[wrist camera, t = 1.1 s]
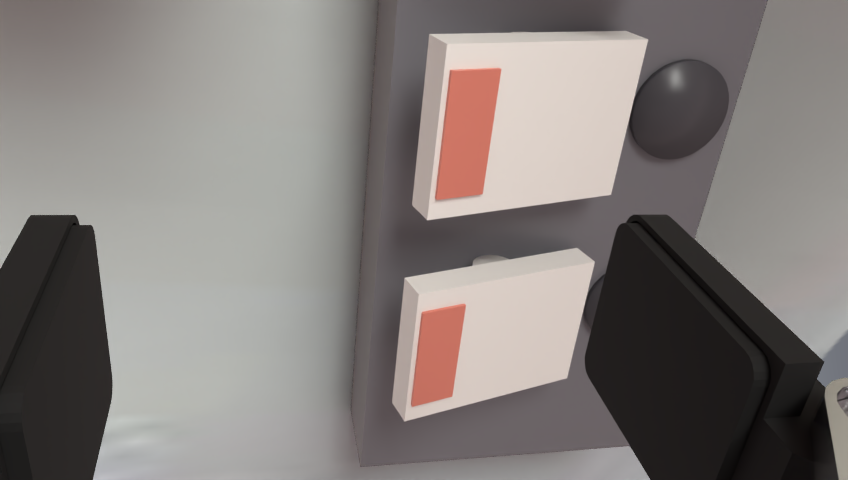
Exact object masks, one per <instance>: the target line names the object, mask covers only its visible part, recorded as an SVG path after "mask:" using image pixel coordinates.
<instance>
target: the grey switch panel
mask: <svg viewBox="0 0 848 480" xmlns="http://www.w3.org/2000/svg"><path fill="white" fill-rule="evenodd" d="M767 1H768V0H379V2H378V17H377V31H376V46H375V61H374V75H373V90H372V105H371V120H370V134H369V149H368V164H367V178H366V193H365V208H364V223H363V237H362V252H361V267H360V281H359V296H358V311H357V326H356V340H355V355H354V370H353V384H352V399H351V414H352V420H353V426H354V432H355V437H356V443H357V449H358V455H359V461H360V467H365V466H378V465H391V464H403V463H416V462H429V461H442V460H455V459H468V458H481V457H494V456H507V455H519V454H532V453H545V452H558V451H571V450H584V449H597V448H610V447H622V446H630V445H629V443H628V442H627V440H626V438H625V437H624V435H623V433H622V432H621V430H620V429H619V427H618V425H617V424H616V422H615V420H614V419H613V417H612V415H611V414H610V412H609V410H608V409H607V407H606V406H605V404H604V402H603V401H602V399H601V397H600V396H599V394H598V392H597V391H596V389H595V387H594V386H593V384H592V382H591V381H590V379H589V377H588V375H587V373H586V369H585V353H586V349H587V345H588V341H589V337H590V333H591V329H592V325H593V321H594V317H595V313H596V309H597V305H598V301H599V297H600V293H601V289H602V285H603V281H604V277H605V273H606V269H607V265H608V261H609V257H610V253H611V249H612V245H613V241H614V237H615V233H616V230H617V228H618V226H619V225H620V224H622V223H626V221H627V220H628V218H629V217H630V216H632V215H668V216H670V217H671V218H672V219H673V220H674V221H675V222H677V223H678V224H679V225H680V226H681V227H682V228H683V229H684V230H685V231H686V232H687V233H688V234H689V235H690V236H691V237H692V238H693V239H695V235H696V232H697V229H698V226H699V222H700V219H701V216H702V213H703V209H704V206H705V203H706V200H707V196H708V193H709V190H710V187H711V183H712V180H713V177H714V174H715V170H716V167H717V164H718V161H719V157H720V154H721V151H722V148H723V144H724V141H725V138H726V135H727V131H728V128H729V125H730V122H731V118H732V115H733V112H734V109H735V105H736V102H737V99H738V96H739V92H740V89H741V86H742V83H743V79H744V76H745V73H746V70H747V66H748V63H749V60H750V57H751V53H752V50H753V47H754V44H755V40H756V37H757V34H758V31H759V27H760V24H761V21H762V18H763V14H764V11H765V8H766V5H767ZM583 31H628V32H630V33H633V34H636V35H638V36H641V37H643V38H646V39H648V43H647V47H646V51H645V55H644V59H643V63H642V68H641V72H640V76H639V80H638V84H637V88H636V93H635V97H634V101H633V105H632V109H631V113H630V118H629V122H628V126H627V130H626V134H625V138H624V143H623V147H622V151H621V155H620V159H619V164H618V168H617V172H616V176H615V180H614V184H613V189H612V193H611V195H607V196H599V197H592V198H585V199H578V200H570V201H563V202H556V203H549V204H542V205H534V206H527V207H520V208H513V209H505V210H498V211H491V212H484V213H476V214H469V215H462V216H455V217H448V218H440V219H433V220H426V219H425V218H424V217H423V216H422V215H421V214H420V213H419V212H418V211H417V210H416V209H415V208H414V207H413V206H412V200H413V190H414V180H415V171H416V161H417V151H418V141H419V131H420V121H421V111H422V101H423V92H424V82H425V72H426V62H427V52H428V42H429V34H460V33H511V32H583ZM573 248H578V249H579V250H581V251H582V252H583V253H584V254H586V255H587V256H588V257H590V258H591V259H592V260H593V261H595V264H594V268H593V272H592V276H591V280H590V284H589V289H588V293H587V297H586V301H585V305H584V309H583V314H582V318H581V322H580V326H579V330H578V334H577V339H576V343H575V347H574V351H573V355H572V359H571V364H570V368H569V372H568V376H567V378H566V379H562V380H559V381H555V382H551V383H547V384H544V385H540V386H536V387H532V388H529V389H525V390H521V391H517V392H513V393H510V394H506V395H502V396H498V397H495V398H491V399H487V400H483V401H480V402H476V403H472V404H468V405H465V406H461V407H457V408H453V409H450V410H446V411H442V412H438V413H435V414H431V415H427V416H423V417H420V418H416V419H412V420H408V421H405V422H404V420H403V419H402V417H401V416H400V414H399V412H398V411H397V409H396V408H395V406H394V405H393V403H392V398H393V388H394V378H395V368H396V358H397V348H398V338H399V328H400V319H401V309H402V299H403V289H404V279H405V278H406V277H412V276H417V275H423V274H429V273H435V272H440V271H446V270H452V269H458V268H463V267H469V266H472V265H473V261H474V259H476V258H477V257H479V256H483V255H497V256H502V257H505V258H507V259H509V260H510V259H515V258H521V257H527V256H533V255H538V254H544V253H550V252H556V251H561V250H567V249H573Z"/></svg>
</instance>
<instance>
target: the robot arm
mask: <svg viewBox="0 0 848 480" xmlns="http://www.w3.org/2000/svg"><path fill="white" fill-rule="evenodd" d="M823 363H824V361H823V360H822V359H820V358H819V357H818V356H817V355H816V354H815V353H814V352H813V351H812V350H811V349H810V348H809V347H808V346H807V345H806V344H805V343H804V342H803V341H801V340H800V339H799V338H798V337H797V336H796V335H795V334H794V333H793V332H792V331H791V330H790V329H789V328H788V327H787V326H786V325H785V324H783V323H782V322H781V321H780V320H779V319H778V318H777V317H776V316H775V315H774V314H773V313H772V312H771V311H770V310H769V309H768V308H767V307H765V306H764V305H763V304H762V303H761V302H760V301H759V300H758V299H757V298H756V297H755V296H754V295H753V294H752V293H751V292H750V291H749V290H747V289H746V288H745V287H744V286H743V285H742V284H741V283H740V282H739V281H738V280H737V279H736V278H735V277H734V276H733V275H732V274H731V273H729V272H728V271H727V270H726V269H725V268H724V267H723V266H722V265H721V264H720V263H719V262H718V261H717V260H716V259H715V258H714V257H713V256H711V255H710V254H709V253H708V252H707V251H706V250H705V249H704V248H703V247H702V246H701V245H700V244H699V243H698V242H697V241H696V240H695V239H693V238H692V237H691V236H690V235H689V234H688V233H687V232H686V231H685V230H684V229H683V228H682V227H681V226H680V225H679V224H678V223H677V222H675V221H674V220H673V219H672V218H671V217H670V216H668V215H632V216H630V217H629V218H628V220H627V221H626V223H622V224H620V225H619V226H618V228H617V230H616V233H615V237H614V241H613V245H612V249H611V253H610V257H609V261H608V265H607V269H606V273H605V277H604V281H603V285H602V289H601V293H600V297H599V301H598V305H597V309H596V313H595V317H594V321H593V325H592V329H591V333H590V337H589V341H588V345H587V349H586V353H585V369H586V373H587V375H588V377H589V379H590V381H591V382H592V384H593V386H594V387H595V389H596V391H597V392H598V394H599V396H600V397H601V399H602V401H603V402H604V404H605V406H606V407H607V409H608V410H609V412H610V414H611V415H612V417H613V419H614V420H615V422H616V424H617V425H618V427H619V429H620V430H621V432H622V433H623V435H624V437H625V438H626V440H627V442H628V443H629V445H630V447H631V448H632V450H633V452H634V453H635V455H636V457H637V458H638V460H639V461H640V463H641V465H642V466H643V468H644V470H645V471H646V473H647V475H648V476H649V478H650V480H848V378H841V379H838V380H834V381H832V382H831V383H830V384H829V385H827V386H826V388H825V387H824V386H823V385H822V384H821V383H820V382H819V381H818V380H817V377H818V375H819V372H820V370H821V368H822V366H823ZM111 399H112V372H111V364H110V356H109V347H108V339H107V331H106V323H105V315H104V307H103V298H102V290H101V282H100V274H99V266H98V258H97V249H96V241H95V234H94V230H93V227H92V225H79V221H78V218H77V217H76V216H75V215H31V216H30V217H29V218H28V220H27V222H26V224H25V225H24V227H23V229H22V231H21V233H20V235H19V236H18V238H17V240H16V242H15V244H14V245H13V247H12V249H11V251H10V253H9V254H8V256H7V258H6V260H5V262H4V263H3V265H2V267H1V269H0V480H93V476H94V472H95V467H96V463H97V459H98V455H99V450H100V446H101V442H102V438H103V434H104V429H105V425H106V421H107V417H108V412H109V408H110V404H111Z"/></svg>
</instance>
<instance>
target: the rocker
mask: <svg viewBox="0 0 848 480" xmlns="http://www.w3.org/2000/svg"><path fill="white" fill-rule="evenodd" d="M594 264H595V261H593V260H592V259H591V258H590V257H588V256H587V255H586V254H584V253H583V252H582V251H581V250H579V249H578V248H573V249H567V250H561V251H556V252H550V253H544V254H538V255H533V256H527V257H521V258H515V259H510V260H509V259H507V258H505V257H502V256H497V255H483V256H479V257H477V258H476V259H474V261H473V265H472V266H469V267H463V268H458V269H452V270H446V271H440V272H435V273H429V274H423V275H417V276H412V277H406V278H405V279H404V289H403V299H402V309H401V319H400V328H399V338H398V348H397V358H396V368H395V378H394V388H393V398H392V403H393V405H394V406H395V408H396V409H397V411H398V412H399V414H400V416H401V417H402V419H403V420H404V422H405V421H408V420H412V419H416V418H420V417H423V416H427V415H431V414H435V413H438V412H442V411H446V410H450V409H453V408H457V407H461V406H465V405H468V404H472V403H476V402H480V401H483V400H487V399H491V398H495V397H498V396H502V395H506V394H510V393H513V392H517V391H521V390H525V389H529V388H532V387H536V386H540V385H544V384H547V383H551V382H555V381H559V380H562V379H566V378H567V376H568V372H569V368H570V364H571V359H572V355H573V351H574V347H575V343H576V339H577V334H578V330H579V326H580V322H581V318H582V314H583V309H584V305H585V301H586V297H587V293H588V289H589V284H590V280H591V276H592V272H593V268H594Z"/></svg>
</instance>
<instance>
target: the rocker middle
mask: <svg viewBox="0 0 848 480" xmlns="http://www.w3.org/2000/svg"><path fill="white" fill-rule="evenodd" d="M647 43H648V39H646V38H643V37H641V36H638V35H636V34H633V33H630V32H628V31H583V32H511V33H460V34H429V42H428V52H427V62H426V72H425V82H424V92H423V101H422V111H421V121H420V131H419V141H418V151H417V161H416V171H415V180H414V190H413V200H412V206H413V207H414V208H415V209H416V210H417V211H418V212H419V213H420V214H421V215H422V216H423V217H424V218H425V219H426V220H433V219H440V218H448V217H455V216H462V215H469V214H476V213H484V212H491V211H498V210H505V209H513V208H520V207H527V206H534V205H542V204H549V203H556V202H563V201H570V200H578V199H585V198H592V197H599V196H607V195H611V193H612V189H613V184H614V180H615V176H616V172H617V168H618V164H619V159H620V155H621V151H622V147H623V143H624V138H625V134H626V130H627V126H628V122H629V118H630V113H631V109H632V105H633V101H634V97H635V93H636V88H637V84H638V80H639V76H640V72H641V68H642V63H643V59H644V55H645V51H646V47H647Z"/></svg>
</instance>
